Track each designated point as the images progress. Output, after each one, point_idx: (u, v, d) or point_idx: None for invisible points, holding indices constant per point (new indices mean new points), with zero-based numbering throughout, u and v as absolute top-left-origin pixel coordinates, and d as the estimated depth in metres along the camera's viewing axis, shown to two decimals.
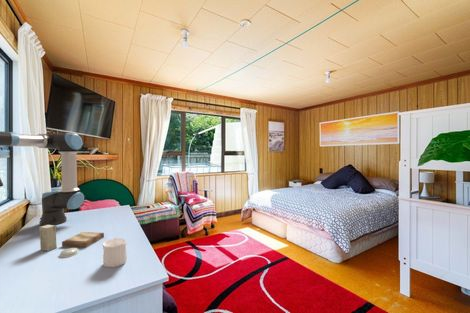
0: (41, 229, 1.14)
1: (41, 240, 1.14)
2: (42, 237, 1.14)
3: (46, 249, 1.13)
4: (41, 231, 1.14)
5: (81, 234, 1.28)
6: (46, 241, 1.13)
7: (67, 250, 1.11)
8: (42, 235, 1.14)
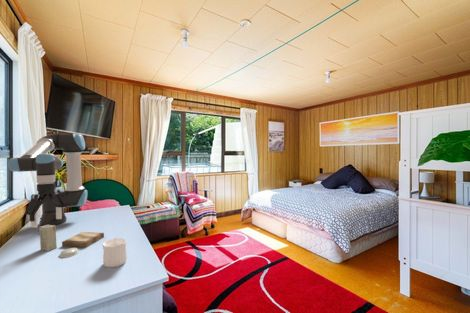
0: (41, 229, 1.14)
1: (41, 240, 1.14)
2: (42, 237, 1.14)
3: (46, 249, 1.13)
4: (41, 231, 1.14)
5: (81, 234, 1.28)
6: (46, 241, 1.13)
7: (67, 250, 1.11)
8: (42, 235, 1.14)
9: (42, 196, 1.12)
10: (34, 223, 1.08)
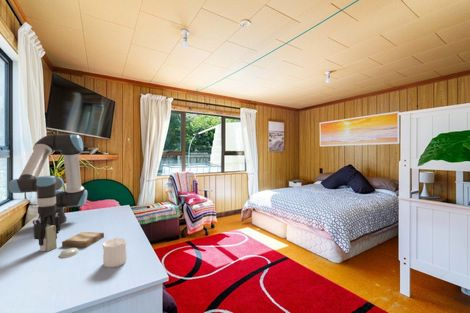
0: None
1: None
2: None
3: (46, 249, 1.13)
4: None
5: (81, 234, 1.28)
6: (46, 241, 1.13)
7: (67, 250, 1.11)
8: None
9: (43, 219, 1.12)
10: (43, 247, 1.13)
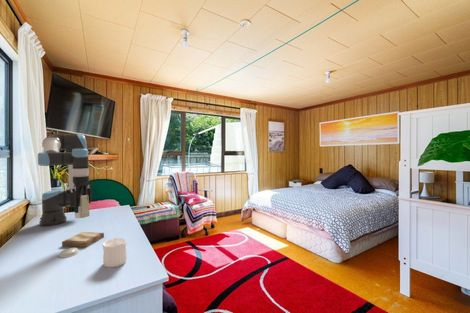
0: None
1: None
2: None
3: None
4: None
5: (81, 234, 1.28)
6: (80, 209, 1.21)
7: (67, 250, 1.11)
8: None
9: (78, 188, 1.20)
10: (78, 214, 1.21)
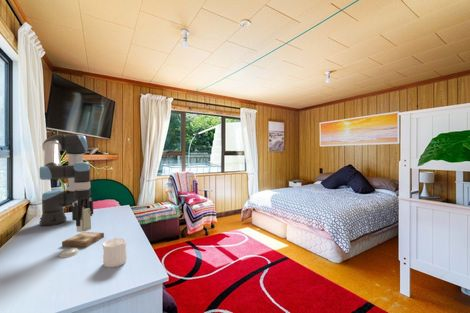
0: None
1: None
2: None
3: (82, 230, 1.22)
4: None
5: (81, 234, 1.28)
6: (82, 222, 1.22)
7: (67, 250, 1.11)
8: None
9: (80, 201, 1.21)
10: (79, 228, 1.21)
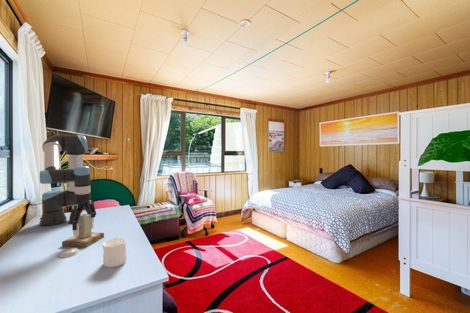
0: None
1: None
2: (79, 225, 1.23)
3: (83, 236, 1.22)
4: None
5: None
6: (83, 229, 1.22)
7: (67, 250, 1.11)
8: (79, 223, 1.23)
9: (80, 206, 1.21)
10: (76, 232, 1.19)
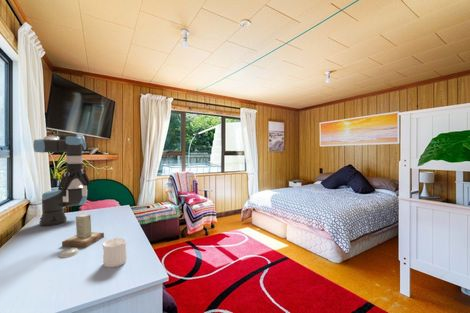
0: (78, 218, 1.23)
1: (77, 228, 1.23)
2: (79, 225, 1.23)
3: (83, 236, 1.22)
4: (78, 220, 1.23)
5: None
6: (82, 229, 1.22)
7: (67, 250, 1.11)
8: (79, 223, 1.23)
9: (72, 174, 1.24)
10: (65, 198, 1.21)
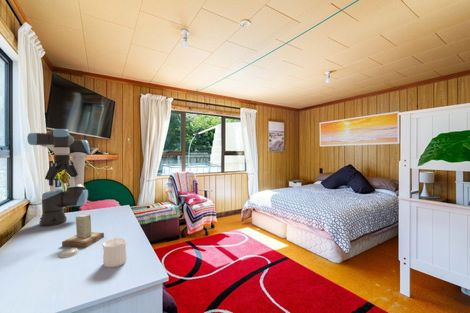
0: (78, 218, 1.23)
1: (77, 228, 1.23)
2: (79, 225, 1.23)
3: (83, 236, 1.22)
4: (78, 220, 1.23)
5: None
6: (82, 229, 1.22)
7: (67, 250, 1.11)
8: (79, 223, 1.23)
9: (59, 165, 1.30)
10: (52, 187, 1.27)
